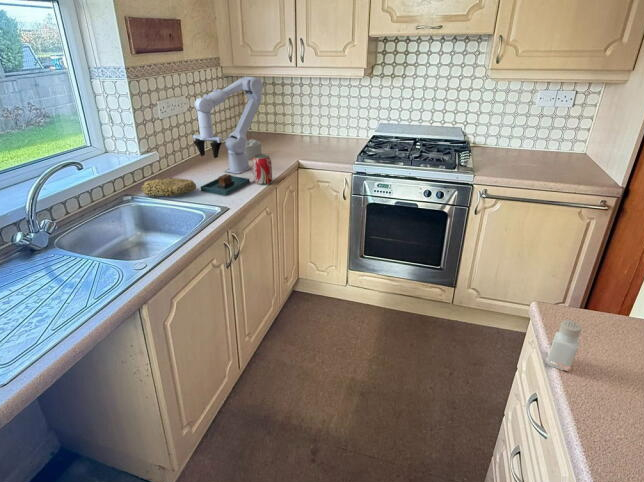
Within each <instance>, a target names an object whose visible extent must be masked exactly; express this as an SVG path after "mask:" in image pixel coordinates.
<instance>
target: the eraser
mask: <svg viewBox="0 0 644 482" xmlns="http://www.w3.org/2000/svg"><path fill="white" fill-rule="evenodd" d="M231 176H232V174H229V173H225V174H222V175H220V176H218V178H217V179H219V184H217V188H221V189H226V188H228V187H230V186H232V185H233V184H234V181H232V179H231Z"/></svg>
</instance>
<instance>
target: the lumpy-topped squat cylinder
mask: <svg viewBox="0 0 644 482" xmlns="http://www.w3.org/2000/svg"><path fill="white" fill-rule="evenodd" d="M244 151H245V152H246V153H247V154H248V161H253V159H254V156H255V155H258V154H263V153H262V143H261V141H260V140H257V139H254V138H252V139H247V142H246V147H245V150H244Z"/></svg>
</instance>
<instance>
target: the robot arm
mask: <svg viewBox="0 0 644 482" xmlns="http://www.w3.org/2000/svg"><path fill="white" fill-rule="evenodd" d="M263 88H264V85H263V82H262V80H261V79H260V78H259V77H257V76H256V77H253V76H249V75H244V76H243V77H240V78H238V79H237V80H236V81H234V82H233V83H231V84H230V85H228V86H226V87H225V88H223V89H216V88H214V89H212V92H210V93H208V94H204V95H203V97H198V98H197V99H196V100H195V102H194V104H193V105H194V109H195V110H196V111H197V112H196V113H197V121H198V128H199V129H198V130H199V134H193V135H192V139H193V140H194V141H193V144H194V145H195V146H196V148H197V150H198V152H199V155H200V157H203V156H205V155H206V150H205V144H206V142H210V143H209V144H210V147H211V149H212V156H213V158H214V159H217V158H219V153H220V149H221V146H222V143H223V140H222V137H221V136H220V137H219V136H216V135H214V129H213V128H214V127H213V119H212V110H213V108H215V107H217V106H219V105H220V104H222V103H224V102H225V101H226V98H228V97H229V96H231V95H233V94H235V93H238V92H239V91H243V92H244V93H245V95H247V99H248V100H247V102H246V105H245V107H244V108H243V109H244V110H243V112H242V114H241V116H240V118H239V120H238V123H237V124H236V127H235V130H234V131H232V132H231V133H230V134H229V136H228V137H227V138H226V139H225V141H224V147H225V148H226V149H227V154H228V155H227V157H228V165H229V168H228V169H226V170H225V172H226V173H227V172H228V173H234V174H241V173H244V172H245V171H247V170H250V169H251V167H250V166H249V165H250V164H249V160H248V154H247V153H246V152H245V151H244V150H245V147H246V142H247V140H248V139H247V134H248V132H249V130H250V127H251V125H252V122H253V120H254V118H255V116H256V114H257V112H258V110H259V107H260V105H261V102H262V98H263V95H262V94H263Z"/></svg>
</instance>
